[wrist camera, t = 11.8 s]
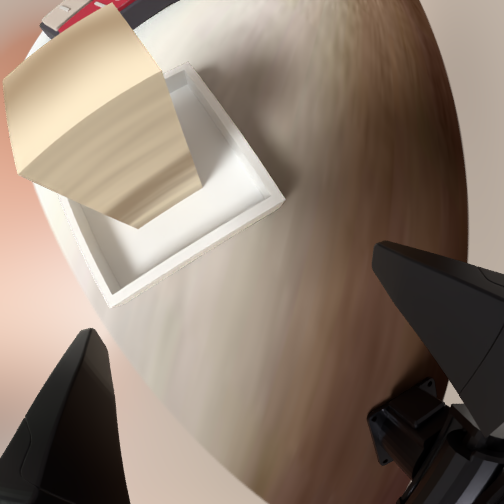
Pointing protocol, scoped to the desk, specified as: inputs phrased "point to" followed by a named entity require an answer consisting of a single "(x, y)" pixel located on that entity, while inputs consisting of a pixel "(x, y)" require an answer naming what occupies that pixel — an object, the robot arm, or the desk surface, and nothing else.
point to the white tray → (186, 211)
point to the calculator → (85, 3)
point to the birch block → (99, 122)
